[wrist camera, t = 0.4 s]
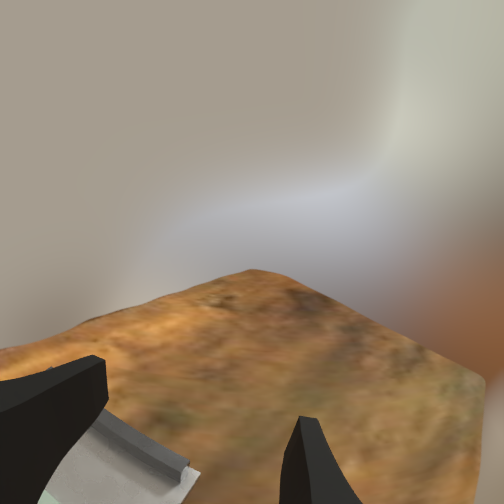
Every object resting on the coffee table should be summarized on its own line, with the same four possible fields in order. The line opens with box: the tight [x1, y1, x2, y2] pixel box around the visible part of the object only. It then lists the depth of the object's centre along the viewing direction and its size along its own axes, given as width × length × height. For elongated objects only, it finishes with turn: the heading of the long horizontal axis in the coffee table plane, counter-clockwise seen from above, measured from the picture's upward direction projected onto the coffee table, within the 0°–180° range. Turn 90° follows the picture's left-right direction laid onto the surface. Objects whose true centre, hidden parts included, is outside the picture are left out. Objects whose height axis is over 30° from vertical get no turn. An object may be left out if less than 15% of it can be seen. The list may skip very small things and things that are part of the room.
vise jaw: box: [38, 489, 60, 504], centre depth 13 cm, size 2×17×2 cm, turn 69°
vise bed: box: [37, 366, 201, 504], centre depth 18 cm, size 13×19×4 cm
